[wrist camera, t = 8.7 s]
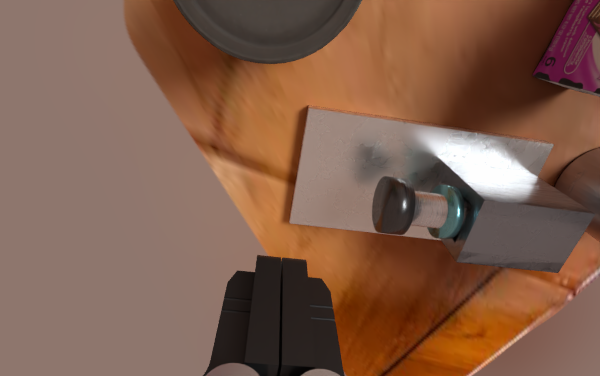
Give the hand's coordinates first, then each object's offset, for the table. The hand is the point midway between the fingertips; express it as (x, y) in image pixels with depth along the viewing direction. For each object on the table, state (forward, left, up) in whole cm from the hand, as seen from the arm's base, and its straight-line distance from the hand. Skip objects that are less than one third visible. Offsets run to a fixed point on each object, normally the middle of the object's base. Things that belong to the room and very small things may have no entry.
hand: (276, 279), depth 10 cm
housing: (-15, +6, -25) cm, 30 cm away
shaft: (-19, +7, -21) cm, 29 cm away
